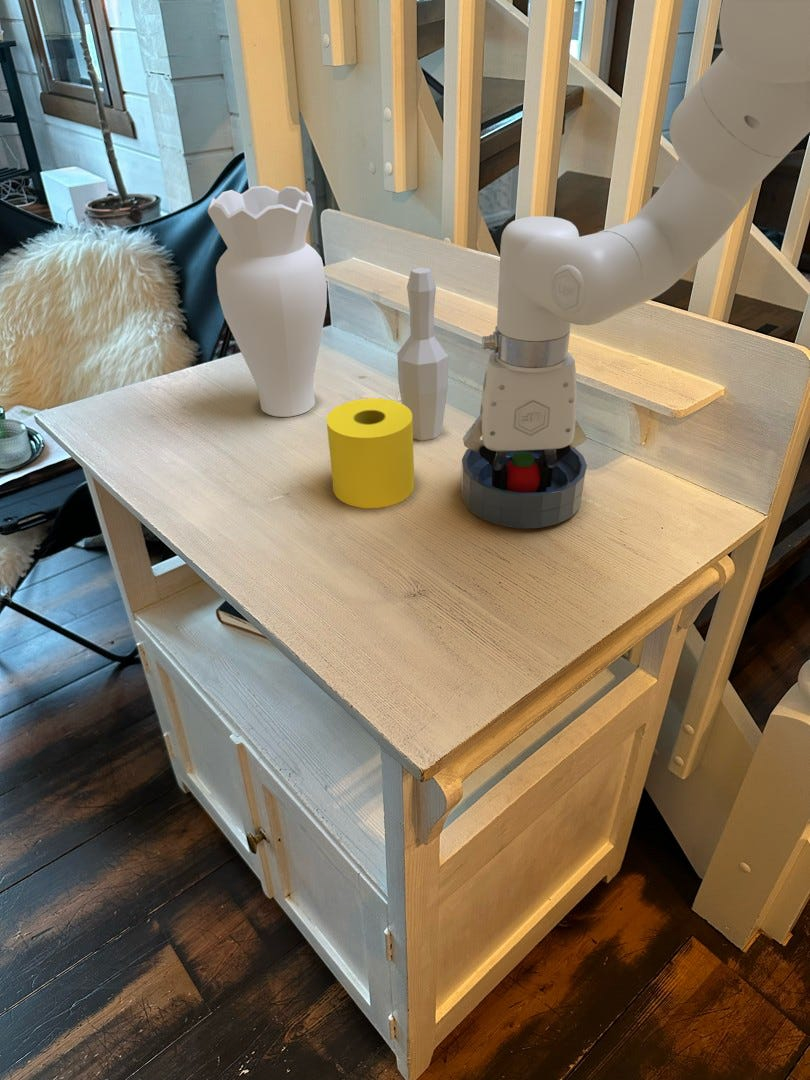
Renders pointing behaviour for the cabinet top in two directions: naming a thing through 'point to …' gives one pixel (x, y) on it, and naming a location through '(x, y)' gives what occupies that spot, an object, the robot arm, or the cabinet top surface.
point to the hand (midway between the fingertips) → (520, 490)
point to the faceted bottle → (423, 360)
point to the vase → (272, 291)
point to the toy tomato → (523, 473)
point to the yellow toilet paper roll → (371, 452)
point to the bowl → (523, 506)
